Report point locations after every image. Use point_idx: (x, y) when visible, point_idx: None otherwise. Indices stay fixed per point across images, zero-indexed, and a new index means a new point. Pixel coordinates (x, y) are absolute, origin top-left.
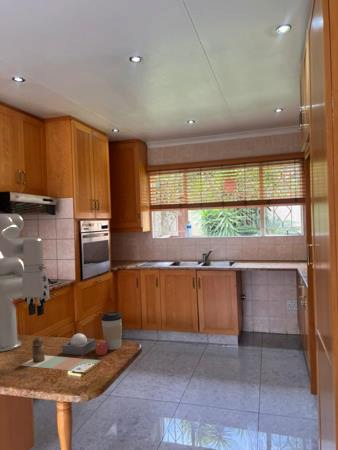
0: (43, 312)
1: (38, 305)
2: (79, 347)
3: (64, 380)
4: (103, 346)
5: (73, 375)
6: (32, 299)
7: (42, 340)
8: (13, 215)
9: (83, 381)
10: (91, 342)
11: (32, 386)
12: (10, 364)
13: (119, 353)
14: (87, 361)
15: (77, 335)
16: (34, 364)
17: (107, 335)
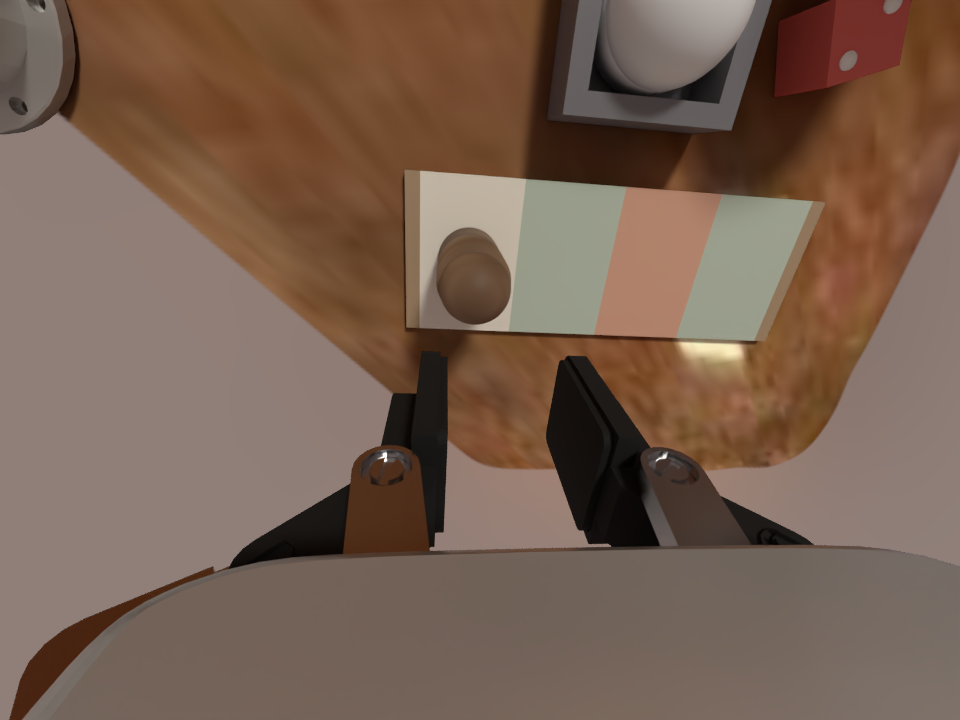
0: (587, 368)
1: (602, 524)
2: (706, 129)
3: (687, 401)
4: (876, 70)
5: (710, 360)
6: (400, 546)
7: (508, 282)
8: None
9: (762, 395)
10: None
11: None
12: (330, 308)
13: (927, 36)
14: (749, 228)
15: (712, 23)
16: None
17: None
